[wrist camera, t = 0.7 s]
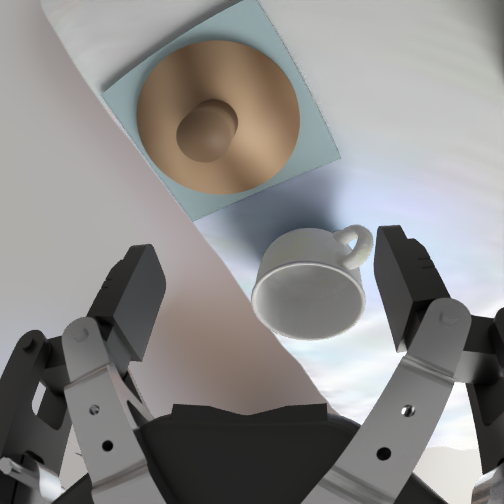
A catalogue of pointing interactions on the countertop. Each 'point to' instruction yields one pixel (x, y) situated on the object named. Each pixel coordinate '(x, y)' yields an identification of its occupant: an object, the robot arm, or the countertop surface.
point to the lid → (218, 117)
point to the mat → (269, 43)
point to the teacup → (312, 282)
